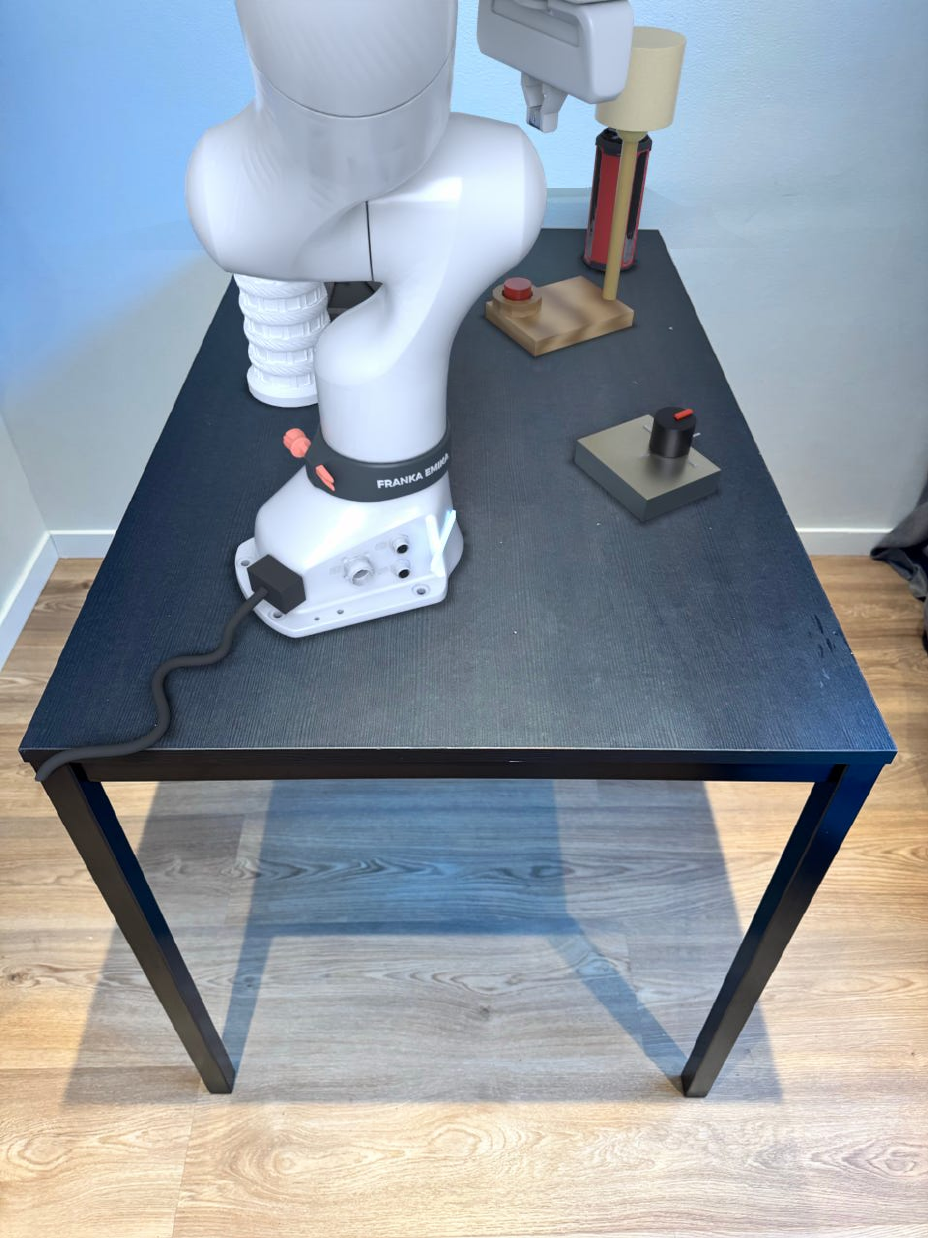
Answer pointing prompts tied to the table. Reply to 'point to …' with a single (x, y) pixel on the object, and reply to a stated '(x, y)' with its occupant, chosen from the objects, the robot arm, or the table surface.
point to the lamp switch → (517, 289)
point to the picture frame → (348, 295)
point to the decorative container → (282, 337)
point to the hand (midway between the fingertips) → (541, 128)
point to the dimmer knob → (672, 431)
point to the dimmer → (644, 470)
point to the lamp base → (558, 315)
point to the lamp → (639, 121)
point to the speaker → (613, 199)
